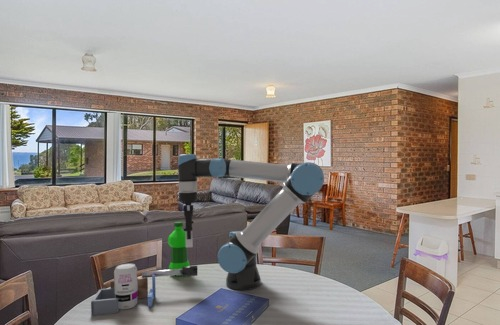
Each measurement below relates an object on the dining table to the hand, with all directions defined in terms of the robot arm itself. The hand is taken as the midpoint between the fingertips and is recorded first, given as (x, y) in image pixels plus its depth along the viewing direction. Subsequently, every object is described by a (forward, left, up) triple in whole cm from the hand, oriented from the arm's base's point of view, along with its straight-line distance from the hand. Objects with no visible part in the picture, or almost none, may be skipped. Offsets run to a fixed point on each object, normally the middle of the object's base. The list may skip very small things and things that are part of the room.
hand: (189, 243), depth 141 cm
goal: (+30, +7, -21) cm, 37 cm away
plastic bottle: (+5, -25, -21) cm, 33 cm away
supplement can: (+24, +7, -21) cm, 33 cm away
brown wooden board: (+24, 0, -21) cm, 32 cm away
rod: (+8, +4, -20) cm, 22 cm away
